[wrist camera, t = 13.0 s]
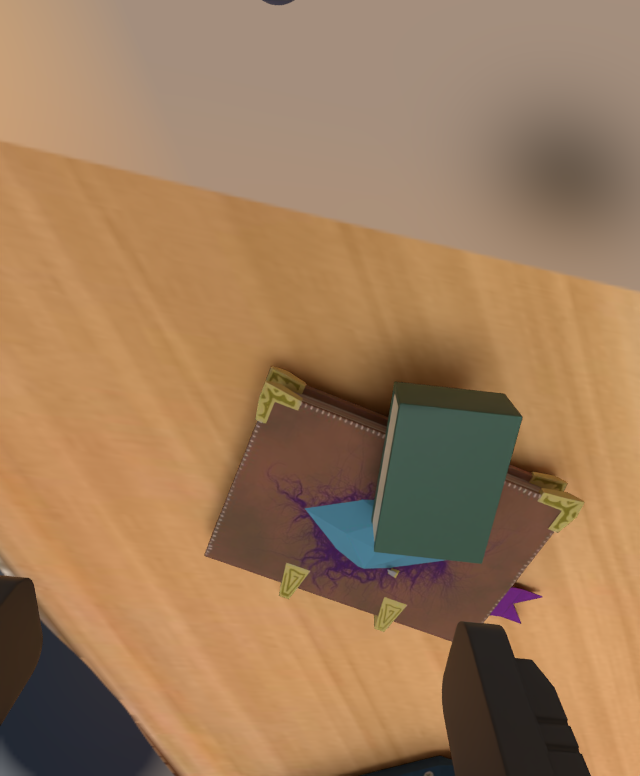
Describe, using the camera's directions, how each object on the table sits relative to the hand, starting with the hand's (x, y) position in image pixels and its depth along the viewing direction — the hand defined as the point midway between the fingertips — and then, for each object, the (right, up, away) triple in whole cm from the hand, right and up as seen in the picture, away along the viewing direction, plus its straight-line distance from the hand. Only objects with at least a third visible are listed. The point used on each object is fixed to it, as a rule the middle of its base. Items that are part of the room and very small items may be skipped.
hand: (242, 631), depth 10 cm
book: (+8, -4, +26) cm, 28 cm away
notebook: (+8, 0, +20) cm, 21 cm away
